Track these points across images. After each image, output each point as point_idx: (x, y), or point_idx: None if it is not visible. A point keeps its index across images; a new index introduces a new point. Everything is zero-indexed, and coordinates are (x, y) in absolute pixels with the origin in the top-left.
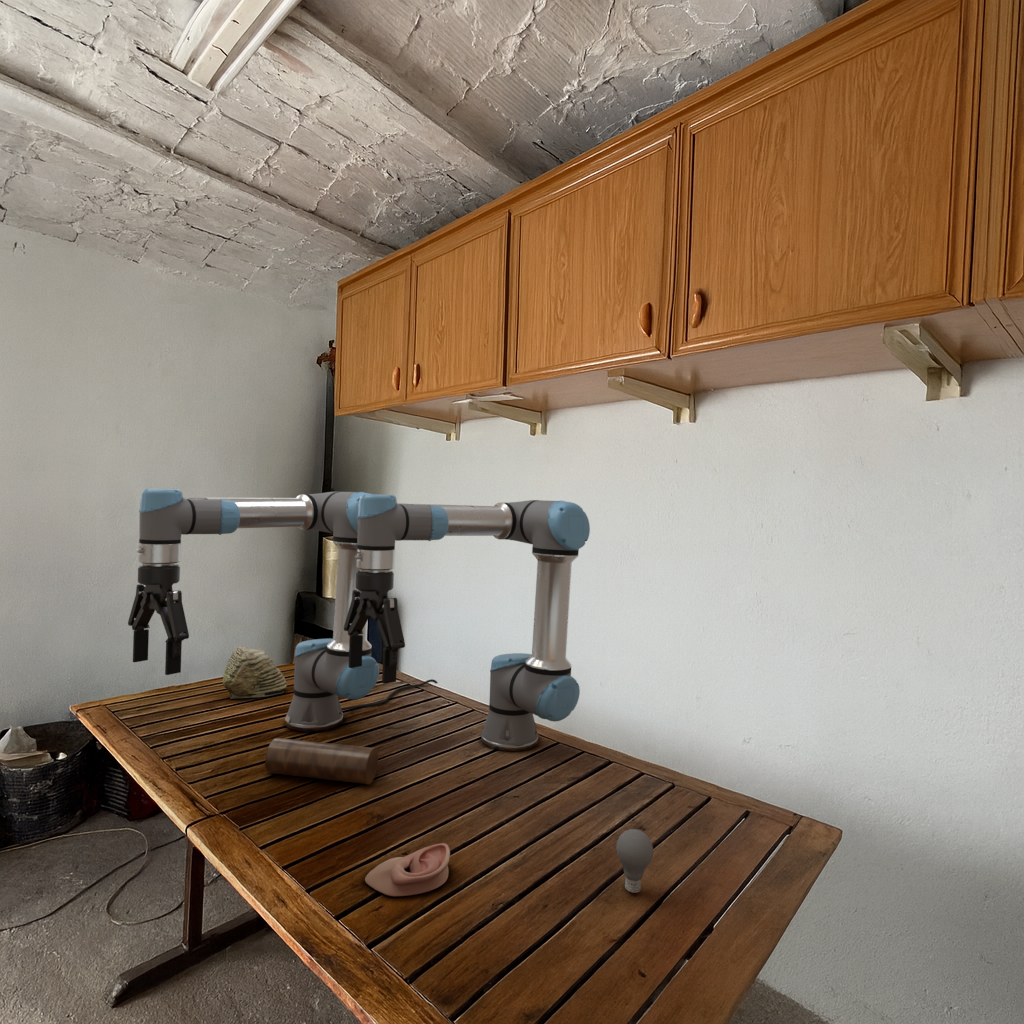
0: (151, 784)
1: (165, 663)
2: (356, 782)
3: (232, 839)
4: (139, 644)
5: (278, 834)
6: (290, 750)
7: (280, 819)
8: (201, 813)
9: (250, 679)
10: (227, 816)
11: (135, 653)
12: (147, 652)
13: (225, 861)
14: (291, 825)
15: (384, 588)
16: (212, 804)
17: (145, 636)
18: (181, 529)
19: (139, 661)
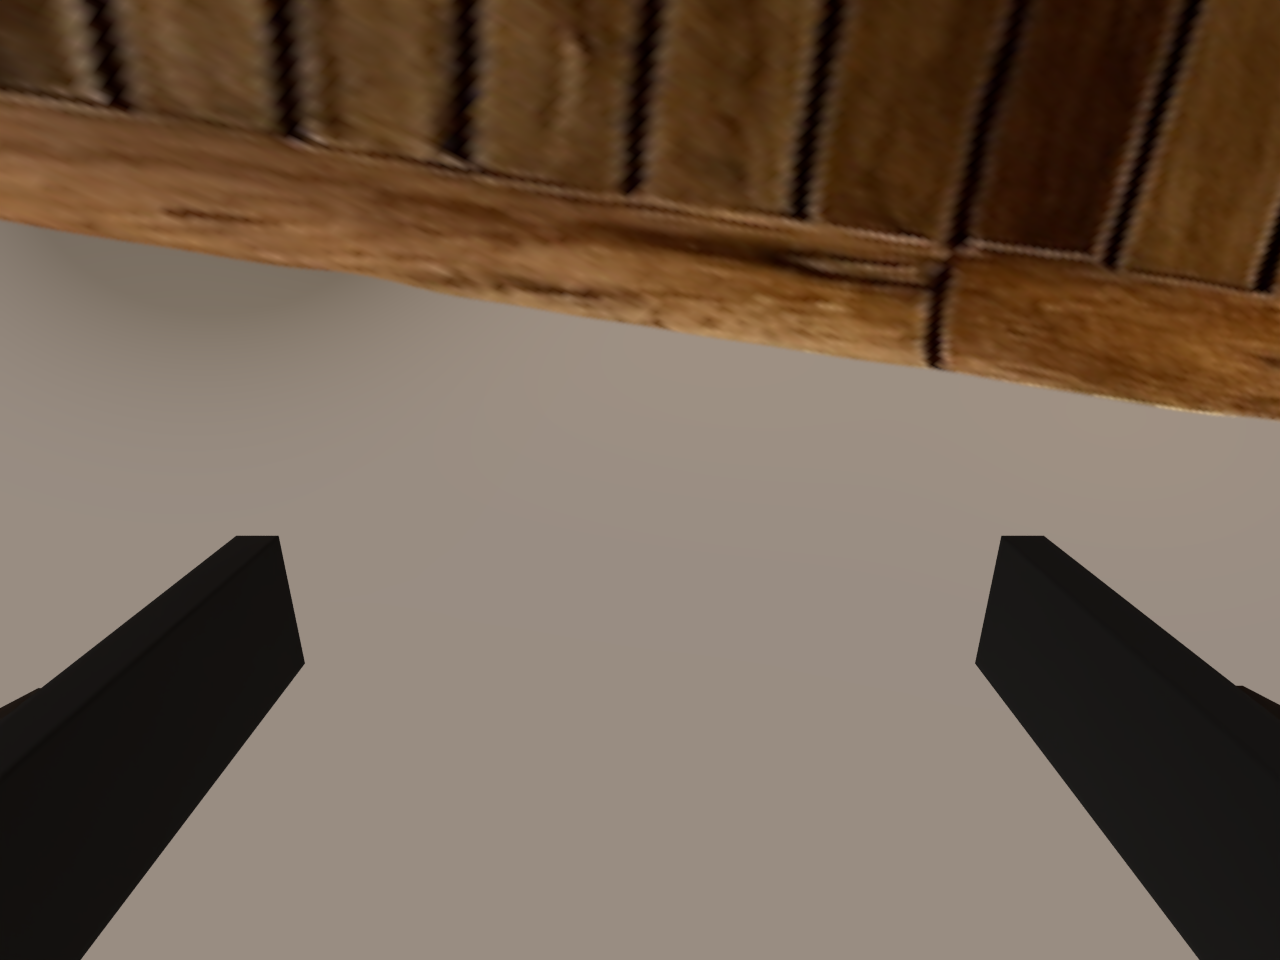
0: (531, 299)
1: (1039, 745)
2: None
3: (1135, 320)
4: (175, 770)
5: (1260, 195)
6: None
7: (1193, 119)
8: (896, 294)
9: None
10: (995, 243)
11: (250, 722)
12: (224, 587)
13: (1211, 402)
14: (1264, 119)
15: None
16: (870, 229)
17: (55, 787)
18: None
19: (295, 619)
